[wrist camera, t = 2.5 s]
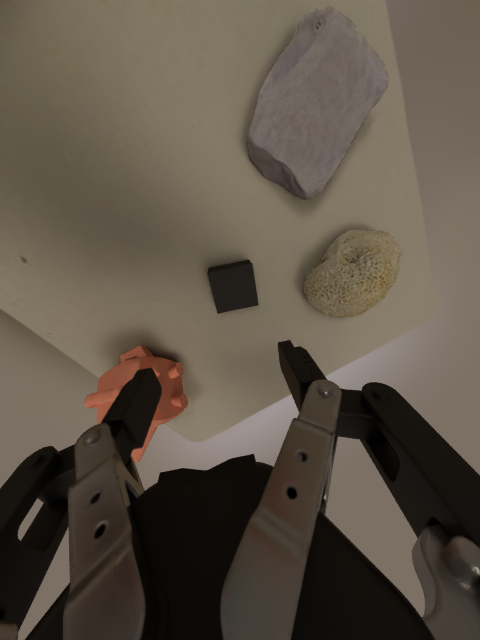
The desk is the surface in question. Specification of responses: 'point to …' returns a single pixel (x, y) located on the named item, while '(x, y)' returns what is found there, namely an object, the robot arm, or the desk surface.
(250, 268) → the small pad
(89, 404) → the pink piece
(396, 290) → the desk surface
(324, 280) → the decorative item
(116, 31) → the desk surface
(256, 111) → the stone block
